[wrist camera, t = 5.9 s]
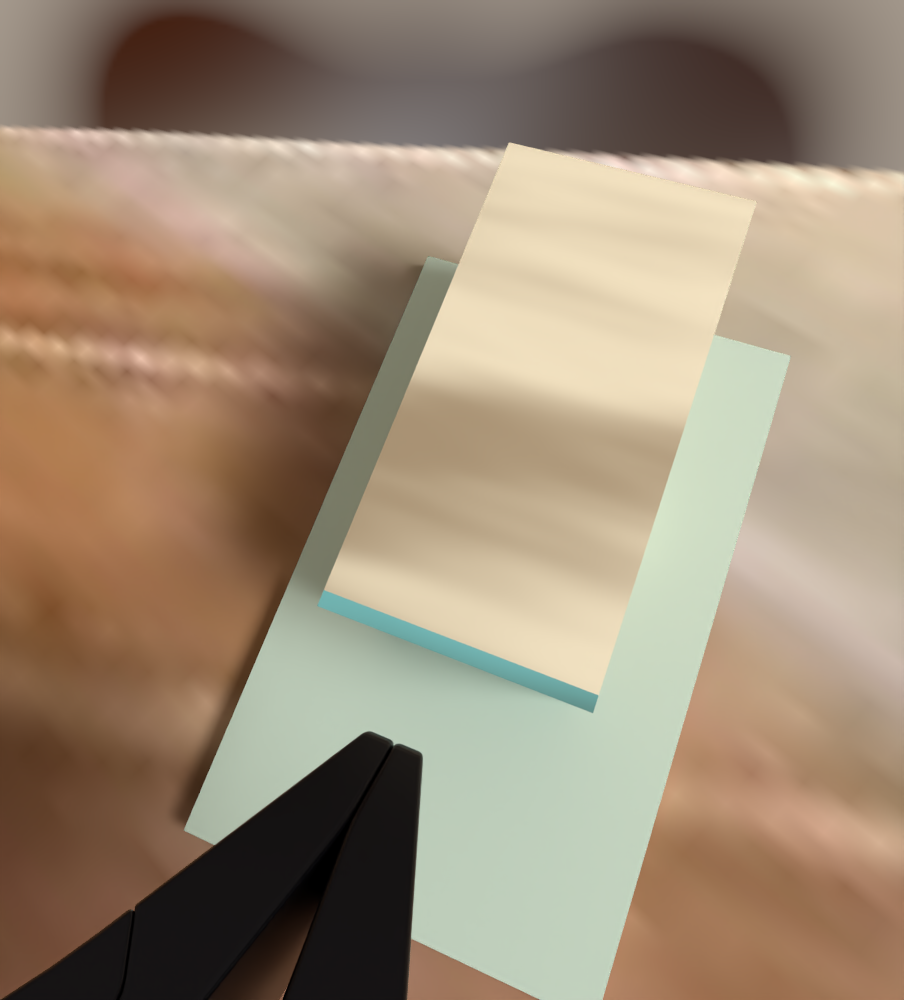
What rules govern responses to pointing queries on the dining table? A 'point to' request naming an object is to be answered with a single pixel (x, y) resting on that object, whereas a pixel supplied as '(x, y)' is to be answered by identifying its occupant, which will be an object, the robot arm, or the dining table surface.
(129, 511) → the dining table surface
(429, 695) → the mat
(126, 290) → the dining table surface
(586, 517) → the maple block
